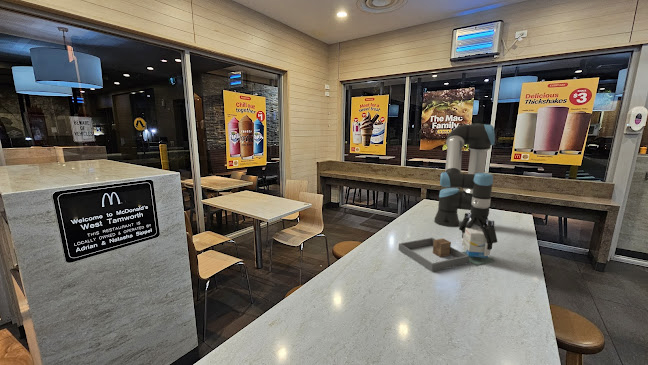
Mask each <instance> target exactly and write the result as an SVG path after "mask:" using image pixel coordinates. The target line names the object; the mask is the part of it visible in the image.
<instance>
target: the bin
mask: <svg viewBox="0 0 648 365" xmlns="http://www.w3.org/2000/svg"><path fill="white" fill-rule="evenodd" d="M434 240H437V239H436V238H434V237H428V238H421V239H416V240H412V241H406V242H400V243H398V251H400V252H401V253H402V254H404V255H405V256H407V257H408V258H410V259H412V260H413V261H415V262H416V263H418V264H419V265H421V266H423V267H424V268H425V269H426V270H428V271H430V272H432V273H433V272H437V271H441V270H445V269H450V268H453V267H458V266H461V265H467V264H469V263H470V262H469V256H468V255H466V254H464V253H462V252H463V251H459V250H458V249H455V248H454V247H451V246H450V255H451V256H453V257H454V258H451V259H445V260H441V261H436V262H431V261H430V260H429V259H427V258H424V257H423V256H422V255H420V254H418V253H417V252H415V251H414V250H412V249H414V248H420V247H425V246H426V247H427V246H430V245H432V246H433V243H434ZM450 255H449V256H450Z"/></svg>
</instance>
